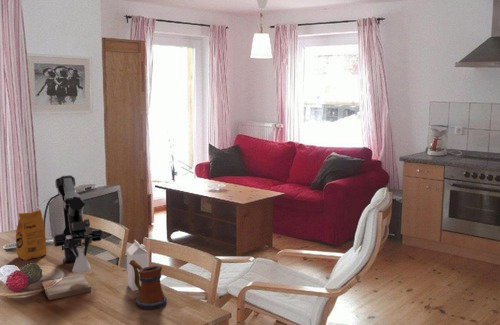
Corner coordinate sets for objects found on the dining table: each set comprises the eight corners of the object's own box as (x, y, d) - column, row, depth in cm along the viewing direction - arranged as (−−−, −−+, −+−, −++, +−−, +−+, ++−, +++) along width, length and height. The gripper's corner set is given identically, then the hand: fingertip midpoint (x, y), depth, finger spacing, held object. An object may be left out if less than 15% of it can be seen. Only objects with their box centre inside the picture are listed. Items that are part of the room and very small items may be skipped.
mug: (120, 299, 203) (118, 262, 201) (144, 290, 211) (143, 254, 209) (148, 313, 191) (146, 274, 188) (173, 303, 199) (172, 265, 197)
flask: (94, 268, 217) (93, 245, 215) (83, 275, 210) (82, 251, 208) (80, 266, 219) (78, 243, 217) (68, 272, 212) (67, 248, 211)
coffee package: (14, 256, 251) (11, 212, 247) (40, 250, 259) (37, 207, 256) (23, 261, 244) (19, 215, 240) (49, 255, 252) (46, 211, 249)
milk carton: (132, 291, 210) (130, 245, 207) (127, 285, 216) (126, 240, 213) (149, 288, 213) (148, 243, 210) (144, 282, 220) (143, 238, 216)
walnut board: (42, 285, 216) (41, 281, 215) (81, 278, 224) (81, 273, 223) (49, 300, 202) (48, 295, 202) (91, 291, 210) (90, 286, 210)
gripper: (53, 215, 210) (57, 250, 202) (100, 210, 218) (107, 243, 210) (52, 229, 218) (56, 263, 210) (98, 223, 226) (104, 256, 218)
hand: (81, 256), depth 212 cm, fingers closed on flask, 3 cm apart
